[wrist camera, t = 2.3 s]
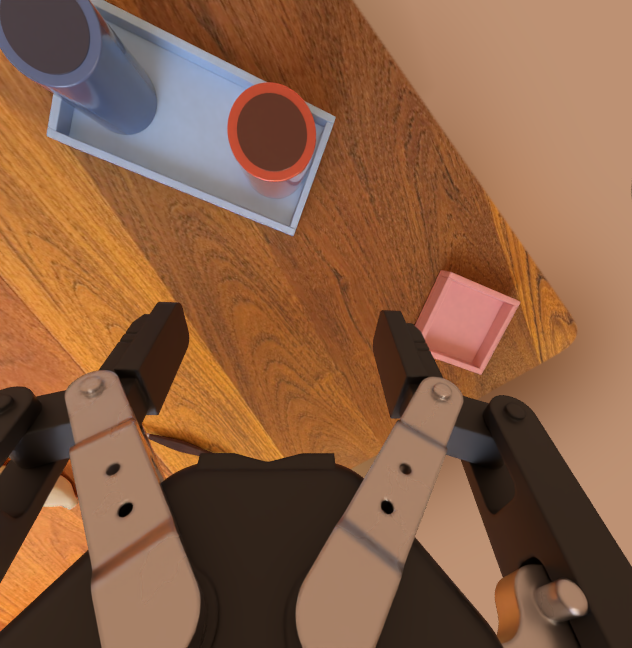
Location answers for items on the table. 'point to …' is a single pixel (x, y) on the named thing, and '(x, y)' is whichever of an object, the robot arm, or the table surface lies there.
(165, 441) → the fork
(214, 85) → the blue tray
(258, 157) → the red spoon pot
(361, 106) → the table surface
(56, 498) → the fruit
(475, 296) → the pink tray
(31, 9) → the blue pot
